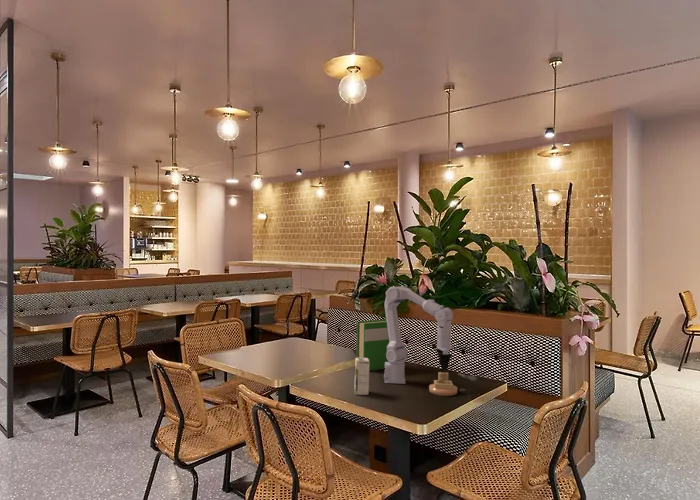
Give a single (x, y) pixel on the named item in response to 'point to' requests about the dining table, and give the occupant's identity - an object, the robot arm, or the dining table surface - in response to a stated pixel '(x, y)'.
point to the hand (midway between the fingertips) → (443, 367)
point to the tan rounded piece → (443, 388)
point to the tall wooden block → (443, 377)
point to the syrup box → (361, 376)
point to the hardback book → (373, 342)
